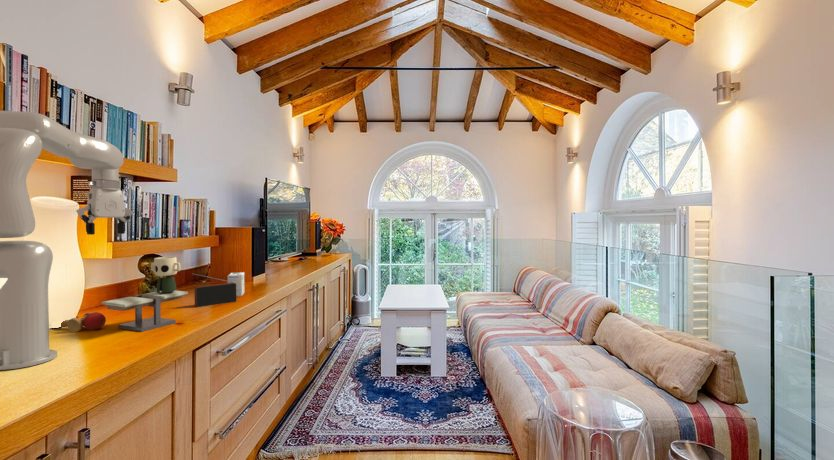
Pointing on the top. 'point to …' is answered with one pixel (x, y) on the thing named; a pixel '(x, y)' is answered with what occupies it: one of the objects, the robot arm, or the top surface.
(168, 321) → the stand
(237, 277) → the light bulb box
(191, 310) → the top surface
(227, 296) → the radio
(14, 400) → the top surface
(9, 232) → the robot arm
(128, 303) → the beam
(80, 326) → the kendama
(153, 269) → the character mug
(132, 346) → the top surface
